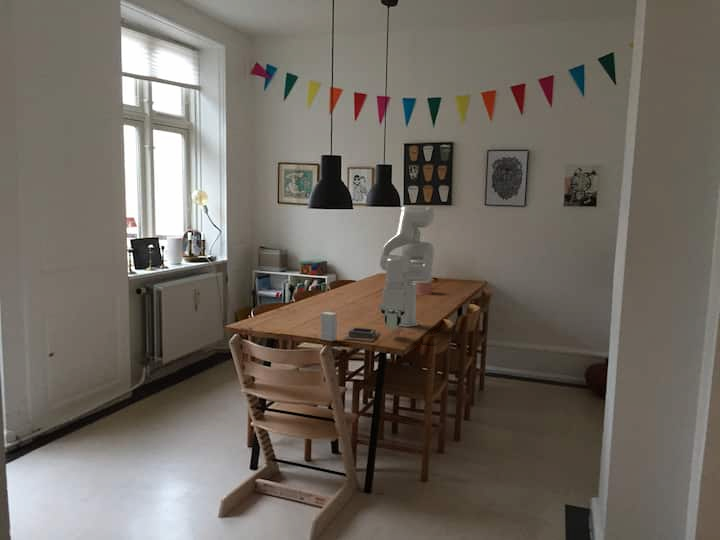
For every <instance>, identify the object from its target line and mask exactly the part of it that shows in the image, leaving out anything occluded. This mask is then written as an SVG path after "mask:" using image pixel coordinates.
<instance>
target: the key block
mask: <svg viewBox="0 0 720 540" xmlns="http://www.w3.org/2000/svg"><path fill="white" fill-rule="evenodd" d="M397 317H398V312H397V310H389V311H388V313H387V325H386V329H387V330H398V327H399V326H397Z"/></svg>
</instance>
